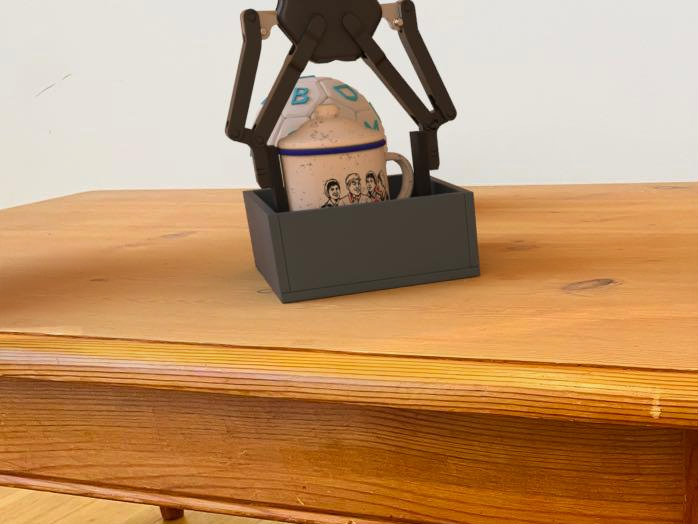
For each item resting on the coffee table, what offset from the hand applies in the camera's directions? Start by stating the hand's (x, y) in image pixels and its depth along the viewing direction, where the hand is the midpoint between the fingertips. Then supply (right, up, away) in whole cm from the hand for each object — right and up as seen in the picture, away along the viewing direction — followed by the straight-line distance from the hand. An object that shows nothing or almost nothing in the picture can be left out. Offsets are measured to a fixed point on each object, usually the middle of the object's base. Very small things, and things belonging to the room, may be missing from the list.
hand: (355, 219), depth 93 cm
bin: (0, -4, +2) cm, 4 cm away
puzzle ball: (-8, +9, +30) cm, 32 cm away
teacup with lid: (0, -2, +1) cm, 2 cm away
